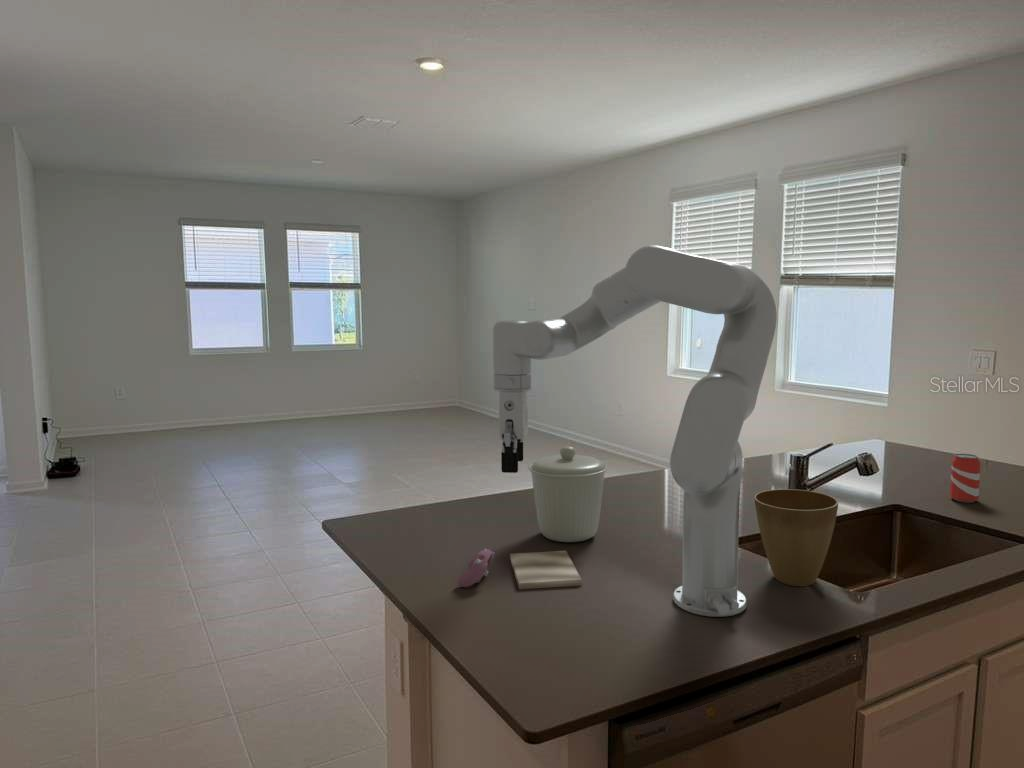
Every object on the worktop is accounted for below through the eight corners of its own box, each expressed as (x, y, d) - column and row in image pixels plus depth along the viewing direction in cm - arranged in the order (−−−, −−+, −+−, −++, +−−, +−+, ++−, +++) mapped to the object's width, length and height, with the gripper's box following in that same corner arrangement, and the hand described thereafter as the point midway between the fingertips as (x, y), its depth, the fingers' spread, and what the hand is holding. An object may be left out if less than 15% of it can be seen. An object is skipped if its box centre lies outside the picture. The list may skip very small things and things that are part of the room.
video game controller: (475, 597, 134) (490, 567, 133) (454, 586, 135) (469, 555, 133) (487, 577, 144) (501, 549, 143) (467, 567, 144) (481, 538, 143)
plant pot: (812, 563, 144) (815, 486, 142) (850, 593, 129) (854, 508, 128) (741, 565, 144) (742, 489, 142) (771, 596, 129) (773, 510, 127)
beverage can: (977, 504, 182) (979, 459, 181) (948, 501, 186) (950, 456, 184) (979, 499, 187) (981, 454, 185) (950, 495, 191) (953, 452, 189)
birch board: (581, 585, 135) (581, 579, 135) (519, 589, 134) (519, 583, 134) (566, 555, 151) (565, 550, 151) (510, 559, 150) (510, 553, 149)
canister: (543, 553, 153) (542, 457, 151) (520, 527, 170) (518, 442, 168) (620, 544, 158) (620, 451, 155) (590, 520, 175) (589, 436, 173)
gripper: (526, 388, 132) (526, 477, 134) (534, 377, 149) (535, 457, 151) (487, 387, 133) (487, 476, 135) (499, 377, 150) (500, 456, 152)
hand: (512, 466), depth 143 cm, fingers open, 9 cm apart
